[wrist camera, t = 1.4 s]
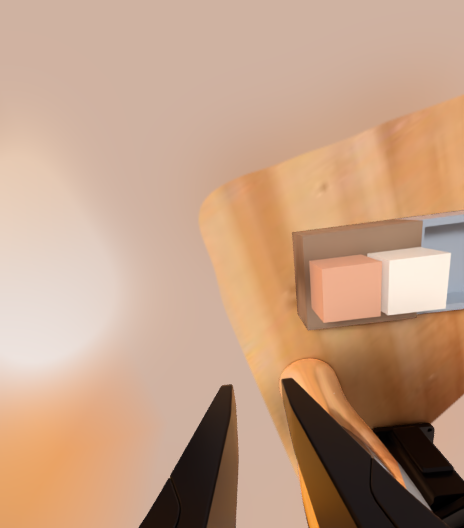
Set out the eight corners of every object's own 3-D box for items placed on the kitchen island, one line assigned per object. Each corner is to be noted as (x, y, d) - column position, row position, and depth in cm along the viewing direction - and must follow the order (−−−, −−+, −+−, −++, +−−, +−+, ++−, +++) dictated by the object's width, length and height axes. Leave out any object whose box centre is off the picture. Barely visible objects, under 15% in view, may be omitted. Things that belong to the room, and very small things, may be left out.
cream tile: (416, 295, 18) (445, 308, 16) (366, 301, 18) (387, 315, 16) (419, 246, 17) (451, 252, 15) (367, 253, 17) (389, 260, 15)
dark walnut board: (391, 303, 21) (416, 317, 18) (297, 314, 22) (308, 330, 19) (394, 219, 20) (422, 220, 17) (292, 232, 20) (302, 236, 17)
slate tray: (501, 290, 21) (536, 300, 19) (391, 303, 21) (411, 314, 19) (514, 203, 19) (556, 202, 17) (394, 219, 20) (417, 220, 17)
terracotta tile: (360, 302, 18) (380, 316, 16) (311, 308, 18) (323, 322, 16) (360, 254, 17) (382, 261, 15) (309, 260, 17) (321, 269, 15)
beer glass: (330, 413, 24) (475, 714, 10) (268, 404, 24) (323, 700, 10) (348, 359, 23) (555, 621, 8) (282, 348, 23) (374, 601, 8)
